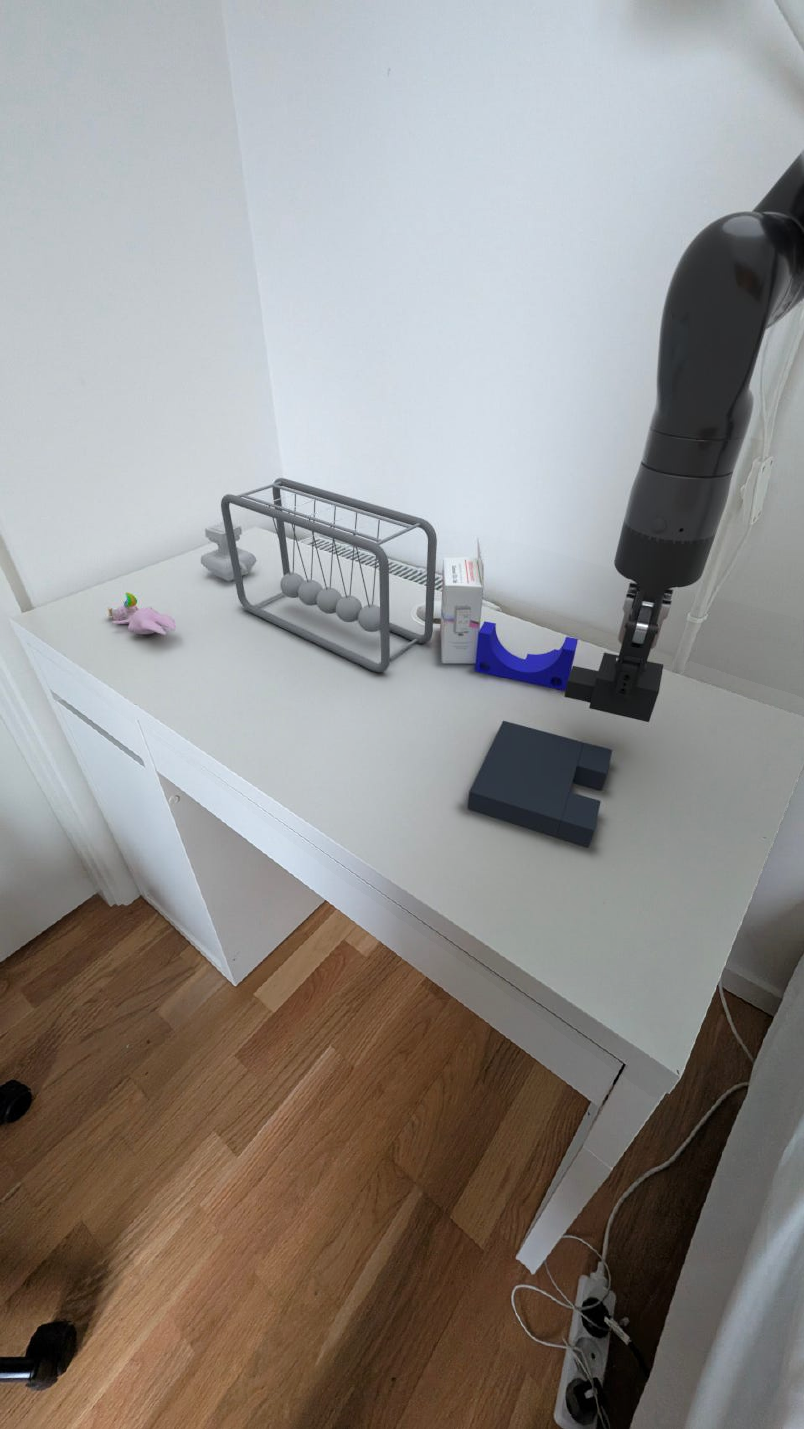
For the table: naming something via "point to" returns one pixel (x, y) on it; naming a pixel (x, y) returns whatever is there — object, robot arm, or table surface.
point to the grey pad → (541, 782)
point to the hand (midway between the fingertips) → (624, 681)
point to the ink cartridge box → (461, 608)
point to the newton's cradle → (329, 597)
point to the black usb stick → (599, 684)
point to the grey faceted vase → (225, 553)
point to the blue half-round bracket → (524, 661)
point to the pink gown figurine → (141, 618)
